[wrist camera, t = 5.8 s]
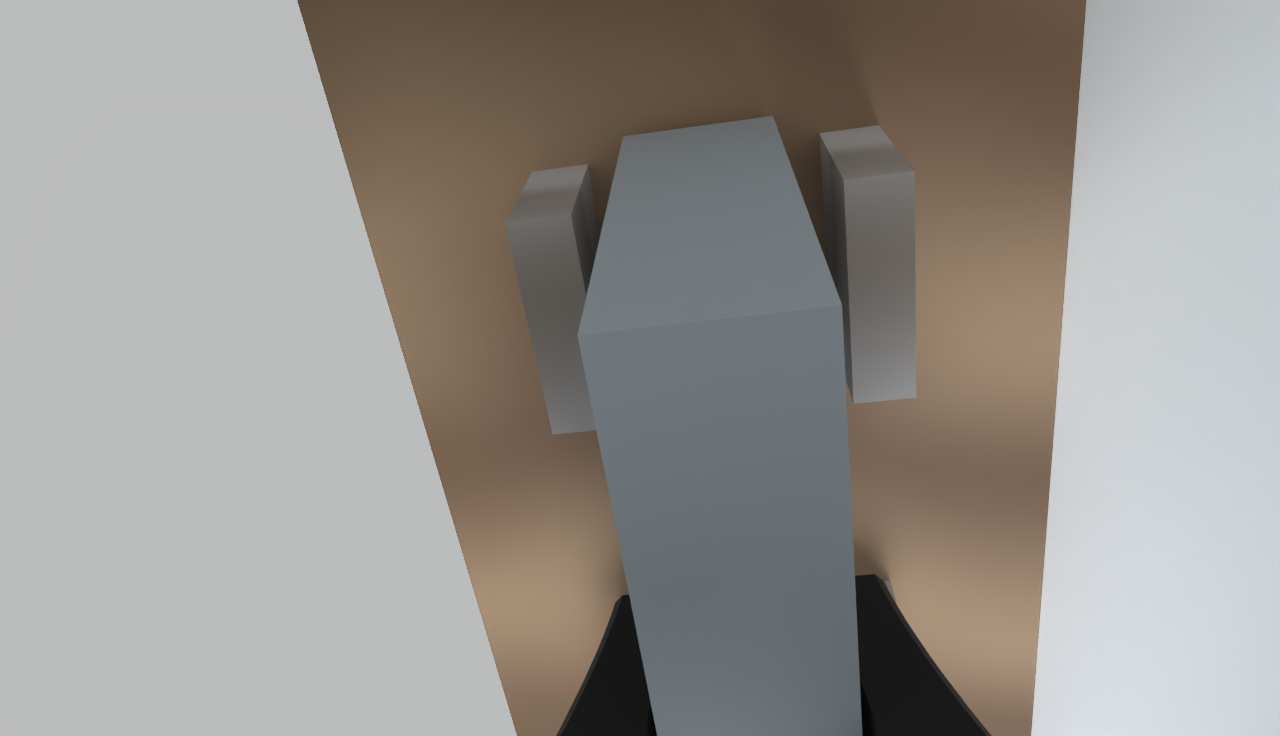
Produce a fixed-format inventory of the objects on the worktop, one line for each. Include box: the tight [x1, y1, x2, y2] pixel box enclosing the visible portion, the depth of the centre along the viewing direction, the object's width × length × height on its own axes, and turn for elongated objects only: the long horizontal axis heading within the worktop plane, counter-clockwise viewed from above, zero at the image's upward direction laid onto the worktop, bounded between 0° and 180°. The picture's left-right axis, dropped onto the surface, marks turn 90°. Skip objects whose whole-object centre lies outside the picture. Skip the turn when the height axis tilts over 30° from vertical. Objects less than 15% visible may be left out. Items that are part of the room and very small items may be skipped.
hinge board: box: [298, 0, 1086, 736], centre depth 15 cm, size 20×10×3 cm, turn 8°
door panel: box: [578, 116, 862, 736], centre depth 12 cm, size 12×2×6 cm, turn 8°
